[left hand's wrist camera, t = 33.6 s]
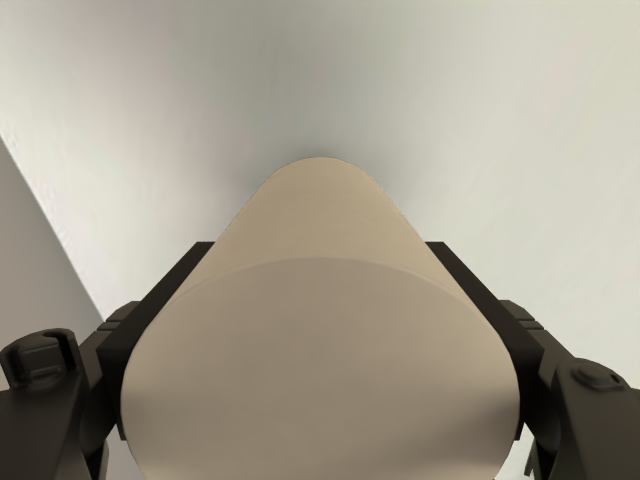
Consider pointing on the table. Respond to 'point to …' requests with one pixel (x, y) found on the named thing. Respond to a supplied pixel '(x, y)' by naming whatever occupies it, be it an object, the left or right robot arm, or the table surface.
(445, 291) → the canister
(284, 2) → the table surface
